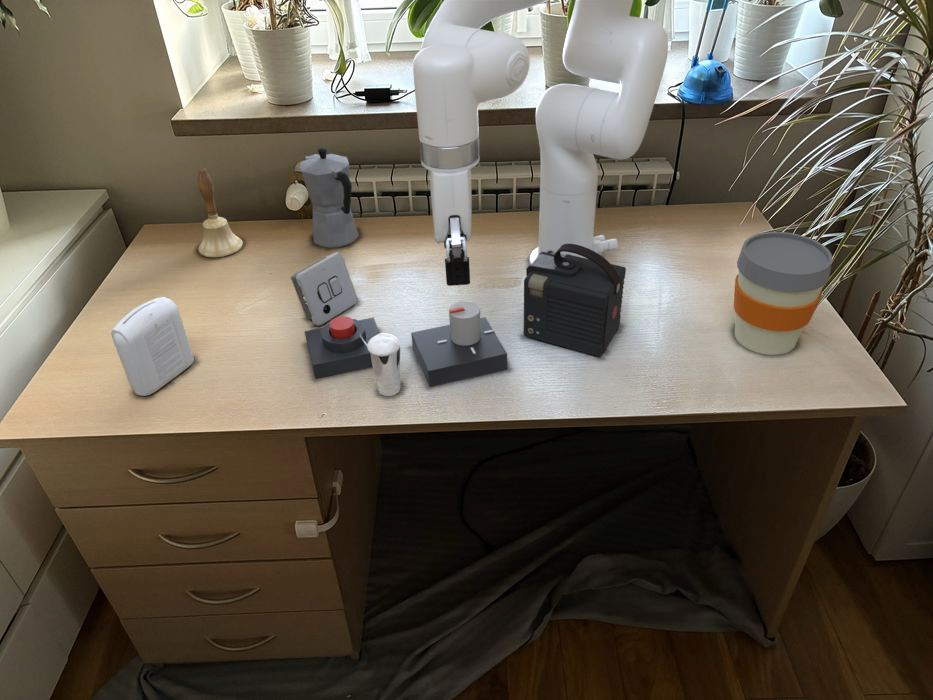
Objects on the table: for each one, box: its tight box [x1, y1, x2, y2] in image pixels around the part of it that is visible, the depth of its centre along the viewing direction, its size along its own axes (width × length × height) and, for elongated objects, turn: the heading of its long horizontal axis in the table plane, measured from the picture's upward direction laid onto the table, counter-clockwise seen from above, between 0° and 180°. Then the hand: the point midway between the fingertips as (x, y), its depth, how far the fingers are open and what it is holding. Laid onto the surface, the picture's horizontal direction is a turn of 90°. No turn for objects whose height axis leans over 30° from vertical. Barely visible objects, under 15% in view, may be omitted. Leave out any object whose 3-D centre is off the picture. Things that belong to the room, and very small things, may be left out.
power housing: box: [304, 317, 381, 380], centre depth 114 cm, size 11×9×4 cm
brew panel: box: [410, 316, 508, 388], centre depth 113 cm, size 12×10×3 cm
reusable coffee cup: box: [733, 231, 833, 356], centre depth 110 cm, size 13×13×15 cm
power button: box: [329, 315, 355, 339], centre depth 112 cm, size 4×4×2 cm
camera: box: [523, 244, 627, 357], centre depth 114 cm, size 11×14×15 cm
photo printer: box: [110, 296, 195, 397], centre depth 109 cm, size 10×4×12 cm, turn 152°
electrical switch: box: [290, 252, 358, 327], centre depth 123 cm, size 9×5×9 cm, turn 141°
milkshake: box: [360, 332, 402, 397], centre depth 105 cm, size 4×5×10 cm
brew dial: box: [448, 300, 481, 346], centre depth 111 cm, size 5×5×5 cm
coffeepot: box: [299, 147, 359, 249], centre depth 139 cm, size 15×9×18 cm, turn 37°
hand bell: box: [197, 167, 244, 258], centre depth 139 cm, size 8×8×16 cm
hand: (456, 265), depth 105 cm, fingers open, 9 cm apart
